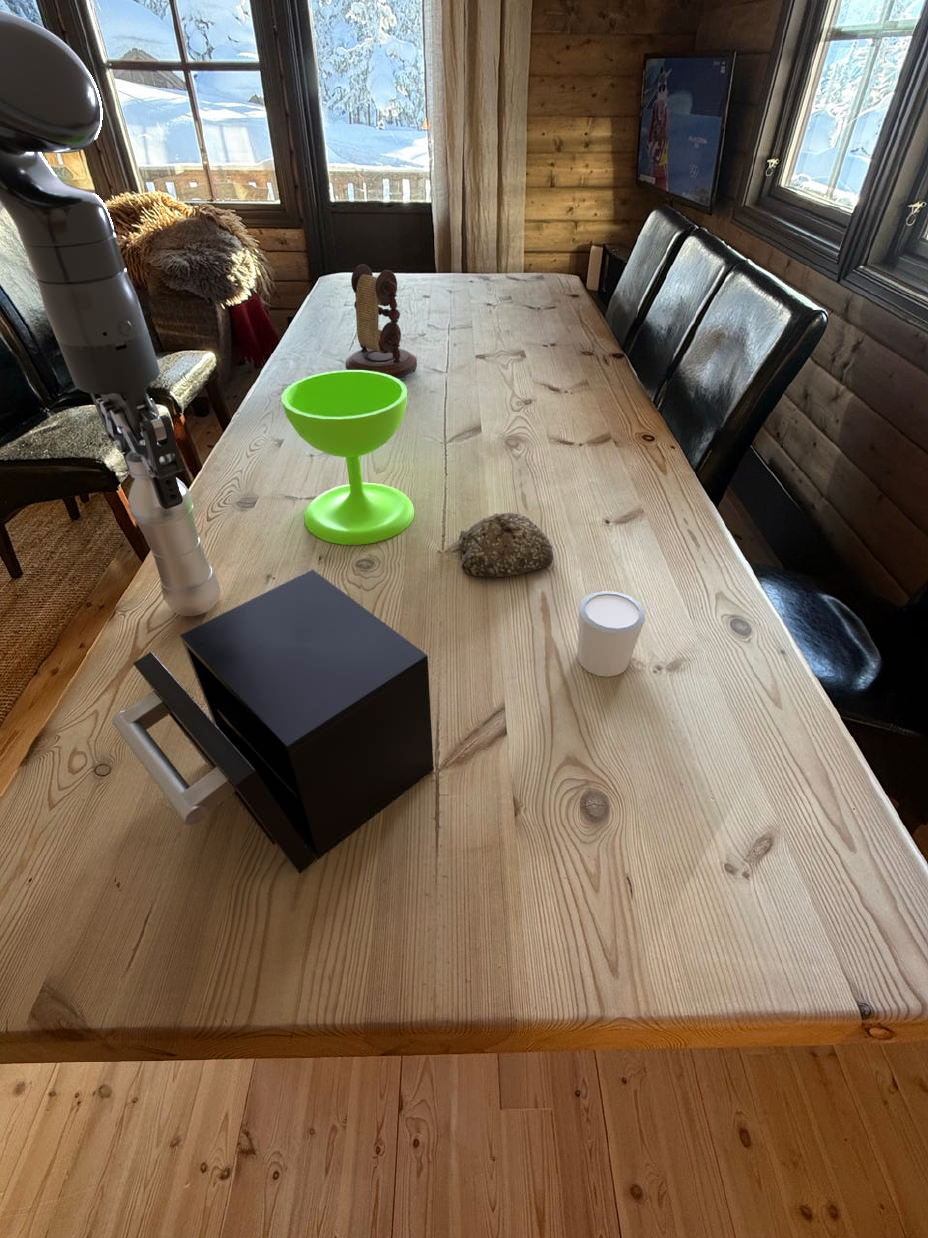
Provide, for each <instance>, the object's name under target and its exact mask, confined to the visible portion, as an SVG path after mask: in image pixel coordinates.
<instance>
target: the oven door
mask: <svg viewBox="0 0 928 1238" xmlns="http://www.w3.org/2000/svg"><path fill="white" fill-rule="evenodd" d="M132 665H133V666H134V667H135V668H136V670H137V671H138V672H139V673H140V675H141V676H142V678H143V679H144V680H145V681H146V683H147V684H148V686H149V687H150V688H151V689H152V691H151V692H150V693H148V694H147V695H145V696H144V697H142V698H141V699H140V700H138V701H136V702H135V703H133V704H132V705H130V706H129V707H127V708H126V709H123V710H120V711H118V712H117V713H116V714H115V715H114V716H113V717H112V720H111V721H112V722H111V723H112V725H113V726H114V728H115V729H116V731H117V732H118V733H119V735H120V737H122V739H123V740H124V742H125V743H126V744H127V745H128V747H129V748H130V750H131V751H132V753H133V754H134V755H135V756H136V758H137V759H138V761H139V762H140V764H141V765H142V766H143V768H144V769H145V770H146V772H147V773H148V774H149V776H150V777H151V779H152V780H153V781H154V783H155V784H156V786H157V787H158V788H159V790H160V791H161V792H162V794H163V796H165V798H166V799H167V801H168V802H169V803H170V804H171V806H172V807H173V809H174V810H175V812H176V813H177V814H178V815H179V817H180V818H181V820H182V821H183V822H184V824H185V825H187V826H188V827H189V826H190V827H191V826H195V825H198V824H200V823H201V822H202V821H203V820H204V819H205V818H206V816H207V814H209V813H210V812H211V811H212V810H214V809H215V808H217V806H219V805H220V804H221V803H222V802H223V801H225V800H226V799H227V798H229V797H231V795H232V796H233V797H234V799H235V800H236V802H237V803H238V804H239V805H240V806H241V807H242V808H243V810H244V811H245V812H246V813H247V815H248V817H250V818H251V820H252V821H253V822H254V823H255V825H257V827H258V828H259V829H260V831H261V832H262V833H263V834H264V835H265V836H266V838H267V839H268V840H269V842H270V843H271V844H272V846H274V845H275V846H276V848H278V849H279V850H280V852H281V853H282V854H283V855H284V857H285V858H286V859H287V860H288V862H289V863H290V864H291V866H293V868H294V869H295V870H296V872H297V873H299V874H301V873H303V871H305V870H306V869H307V868H308V867H309V866H311V864H313V863H314V862H315V861H316V859H315V857H314V856H313V855H314V854H312V851H311V850H310V849H309V848H308V846H307V845H306V844H305V843H304V842H303V841H302V839H301V838H300V836H299V835H298V833H297V832H296V830H295V829H294V827H293V826H292V824H291V823H290V821H289V820H288V818H287V817H286V815H285V814H284V812H283V811H282V809H281V808H280V806H279V805H278V803H277V802H276V800H275V799H274V797H273V796H272V794H271V793H270V791H269V790H268V788H267V787H266V785H265V784H264V782H263V781H262V779H261V778H260V776H259V775H258V773H257V772H256V770H255V769H254V768H253V767H252V765H251V764H250V763H249V762H248V761H247V760H246V759H245V758H244V756H243V755H242V754H241V753H240V752H239V751H238V750H237V748H236V747H235V746H234V745H233V744H232V743H231V742H230V740H229V739H228V738H227V737H226V736H225V735H224V734H223V733H222V731H221V730H220V729H219V728H218V727H217V726H216V725H215V723H214V722H213V720H212V718H211V717H209V716H208V714H207V713H206V712H205V711H204V710H203V708H202V707H201V706H200V705H199V704H198V703H197V702H196V701H195V700H194V698H193V697H192V696H191V695H190V694H189V693H188V691H187V690H186V689H185V688H184V687H183V686H182V684H181V683H179V681H178V680H177V679H176V678H175V677H174V676H173V675H172V674H171V672H170V671H169V670H168V669H167V668H166V667H165V665H164V664H163V663H162V662H161V661H160V659H159V658H158V657H157V656H156V655H155V654H154V653H153V651H150V652H148V653H146V654H145V655H144V656H142V657H140V658H138V659H137V660H135V661H134V662H133V663H132ZM167 716H170V718H171V719H172V721H174V723H175V724H176V725H177V727H178V728H179V729H180V731H181V732H182V733H183V735H184V736H185V738H187V740H188V741H189V743H190V744H191V745H192V746H193V748H194V749H195V750H196V752H197V753H198V754H199V755H200V757H201V758H202V760H203V761H204V763H205V764H207V766H208V768H210V771H209V772H207V773H206V774H205V775H204V776H202V777H201V778H200V779H198V780H197V781H196V782H194V783H193V784H192V785H190V784H189V783H188V782H187V781H186V780H185V779H184V777H183V775H182V774H181V773H180V772H179V770H178V769H177V768H176V767H175V765H174V764H173V763H172V761H171V760H170V758H169V757H168V756H167V755H166V754H165V752H164V751H163V750H162V748H161V747H160V746H159V744H158V743H157V742H156V740H155V739H154V738H153V737H152V734H150V733H149V732H148V731H147V730H149V729H150V728H152V727H153V726H154V725H156V724H157V723H159V722H160V721H162V720H163V719H164V718H166V717H167Z"/></svg>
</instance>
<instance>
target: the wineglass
mask: <svg viewBox="0 0 928 1238" xmlns="http://www.w3.org/2000/svg"><path fill="white" fill-rule="evenodd" d="M407 402H408V389H407V385H406V383H404V382H403V380H402V381H401V379H399V378H398V377H397V378H395V377H393V376H391V375H388V374H384V373H380V372H374V371H366V370H346V369H342V370H332V371H326V372H321V373H316V374H313V375H308V376H307V377H303V378H301V379H299V380H296V381H294V382H293V383H291V384H290V385H288V386H287V387H286V388H285V389H284V390H283V392H282V394H281V404H282V407H283V410H284V413H285V416H286V418H287V420H288V421H289V423H290V424H291V426H292V427H293V429H294V430H295V432H296V433H297V434H298V436H299V437H300V438H301V439H303V440H304V441H305V442H306V443H307V444H309V446H310V447H313V448H315V449H316V450H317V451H320V452H323V453H326V454H328V455H331V456H334V457H339V458H345V461H346V468H347V478H348V483H347V484H343V485H339V486H336V487H333V488H331V489H328V490H326V491H324V492H322V493H321V494H319V495H318V496H316V497H315V498H314V499H313V500H312V501H311V502H310V503H309V504H308V505H307V507H306V511H305V513H304V517H303V518H304V525H305V528H307V530H308V532H310V533H311V534H312V535H313V536H315V537H316V538H318V539H320V540H323V541H325V542H328V543H331V544H332V543H333V544H338V545H344V546H346V545H347V546H359V545H360V546H362V545H369V544H376V543H378V542H382V541H386V540H388V539H390V538H393V537H394V536H397V535H400V533H402V532H403V531H404V530H405V529H407V528H409V526H410V525H411V523H412V522H413V520H414V517H415V513H416V512H415V508H414V504H413V501H411V499H410V498H409V497H408V495H406V493H404V492H402V491H400V490H399V489H397V488H395V487H392V486H389V485H386V484H381V483H375V482H363V481H364V480H363V472H362V463H361V456H366V455H368V454H371V453H373V452H374V451H376V450H378V449H379V448H380V447H382V446H383V445H386V443H388V442H389V441H390V440H391V439H392V437H393V436H394V434H395V433H396V432H397V431H398V429H399V428H400V426H401V424H402V421H403V418H404V415H405V412H406V409H407V405H408V404H407Z"/></svg>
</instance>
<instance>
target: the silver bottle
mask: <svg viewBox="0 0 928 1238" xmlns="http://www.w3.org/2000/svg"><path fill="white" fill-rule="evenodd" d="M126 461H127V464H128V467H129V470H128V473H129V472H130V473H129V476H130V475H131V476H132V477H133V478H135V479H134V482H133V481H132V484H131V486H130V489H129V493H128V497H127V501H128V503H127V504H128V509H129V512H130V513H131V515H132V517H133V519H134V521H135V522H136V525H137V526H138V528H139V529H140V531H141V533H142V535H143V536H144V538H145V541H146V543H147V545H148V547H149V549H150V552H151V554H152V556H153V559H154V562H155V566H156V569H157V572H158V575H159V582H160V589H161V593H162V599H163V600H164V601H165V603H166V604H167V606H168V608H170V610H171V611H172V612H174V613H176V614H178V615H180V616H182V617H183V616H184V617H196V616H200V615H203V614H205V613H207V612H209V611H211V610H212V609H214V607H215V606H216V605H217V603H218V601H219V599H220V596H221V585H220V580H219V578H218V576H217V574H216V572H215V571H214V569H213V567H212V566H211V565H210V562H209V560H208V558H207V555H206V553H205V551H204V548H203V545H202V543H201V539H200V536H199V531H198V527H197V523H196V516H195V509H194V504H193V498H192V494H191V491H190V490H189V488H188V487H187V485H185V483H184V482H183V481H181V480H180V479H179V478H178V477H176V479H177V483H178V486H179V489H180V492H181V495H182V498H183V502H182V503H181V504H180V505H177V506H175V507H172V508H169V509H164V508H163V507H162V506H160V504H159V501H158V498H157V496H156V493H155V490H154V487H153V484H152V481H151V479H150V475H149V474H148V473H147V469H146V467H145V465H144V463H143V461H142V459H141V457H139V456H136V455H134V454H133V453H132V451H131V452H129V453H128V454H127V455H126ZM162 461H164V459H163V456H162V457H160V462H162ZM131 476H130V477H131Z"/></svg>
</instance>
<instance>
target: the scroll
mask: <svg viewBox="0 0 928 1238" xmlns="http://www.w3.org/2000/svg"><path fill="white" fill-rule="evenodd" d="M350 280H351V281H350V282H351V284H350V285H351V288H352V292H353V293H354V294H355V295H354V296H355V301H354V304H353V305H354V309H355V319H356V322H355V323H356V335H357V341H358V344H359V346H360V348H361V349H360V350H358V351H356V352H354V353H352V354H351V355H349V356H348V357H347V358H346V359H345V361H344V365H345V370H366V371H374V372H380V373H384V374H388V375H391V376H393V377H395V378H397V379H398V378H401V377H403V376H407V375H409V374H411V373H416V370H417V367H418V360H417V357H416V356H415V354H413V353H411V352H409V351H407V350H405V349H403V348H400V347H401V344H400V342H401V339H402V332H401V328H400V326H399V324H398V323H399V319H400V318H401V313H400V310H399V309H398V302H397V299H396V297H397V296H398V294H397V292H398V280H397V277H396V275H395V273H394V272H393V271H392V270H389V269H385V270H383V271H381V272H380V273H379V275H378V276H375V275H374V274H373V272H372V270H371V268H370V267H369V265H366V264H359V265H357V266H356V267H355V268H354V269H353V272H352V274H351V279H350ZM383 307H389V308H390V309H389V308H383ZM379 316H384V317H385V318H388V319H389V320H390V321H389V322H387V323H386V324H384V326H383V327H382V329H380V328H379V321H380V318H379Z"/></svg>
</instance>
